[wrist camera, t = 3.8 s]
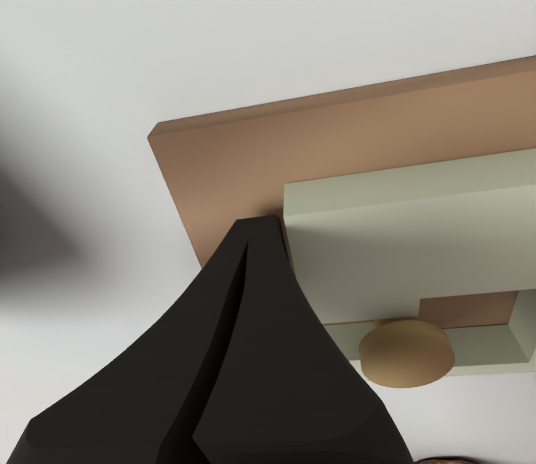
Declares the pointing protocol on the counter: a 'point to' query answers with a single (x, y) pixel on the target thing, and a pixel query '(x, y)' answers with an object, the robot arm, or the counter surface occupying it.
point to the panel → (421, 251)
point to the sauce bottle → (445, 462)
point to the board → (352, 162)
